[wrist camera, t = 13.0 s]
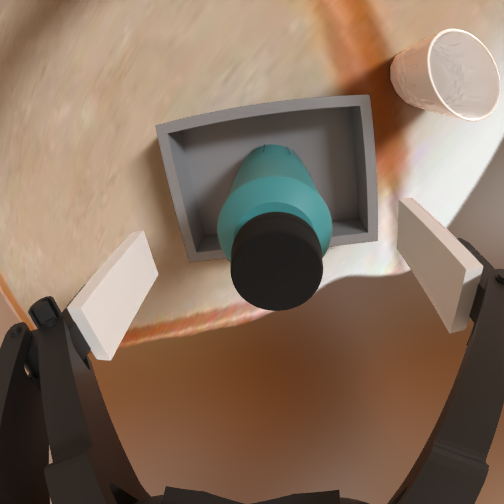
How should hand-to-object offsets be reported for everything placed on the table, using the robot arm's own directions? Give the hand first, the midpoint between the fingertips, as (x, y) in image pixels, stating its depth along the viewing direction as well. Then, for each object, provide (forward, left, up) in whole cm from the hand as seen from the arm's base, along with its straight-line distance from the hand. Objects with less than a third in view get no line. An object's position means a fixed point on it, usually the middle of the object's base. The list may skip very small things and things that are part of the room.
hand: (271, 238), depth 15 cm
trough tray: (0, 0, -18) cm, 18 cm away
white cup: (-9, +17, -18) cm, 26 cm away
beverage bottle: (0, 0, -17) cm, 17 cm away
